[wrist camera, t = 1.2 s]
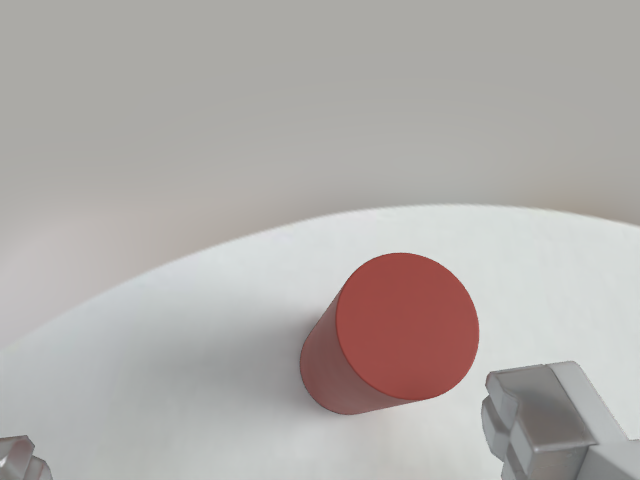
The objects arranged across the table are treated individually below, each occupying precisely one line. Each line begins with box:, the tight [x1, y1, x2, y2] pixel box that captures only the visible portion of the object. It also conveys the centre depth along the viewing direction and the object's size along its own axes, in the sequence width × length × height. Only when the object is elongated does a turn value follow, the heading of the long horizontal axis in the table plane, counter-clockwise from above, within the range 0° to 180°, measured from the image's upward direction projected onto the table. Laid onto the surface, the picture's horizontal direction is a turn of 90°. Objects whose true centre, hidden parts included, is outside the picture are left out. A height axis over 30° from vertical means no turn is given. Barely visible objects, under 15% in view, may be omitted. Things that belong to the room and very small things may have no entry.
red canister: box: [300, 253, 479, 415], centre depth 22 cm, size 5×5×10 cm
